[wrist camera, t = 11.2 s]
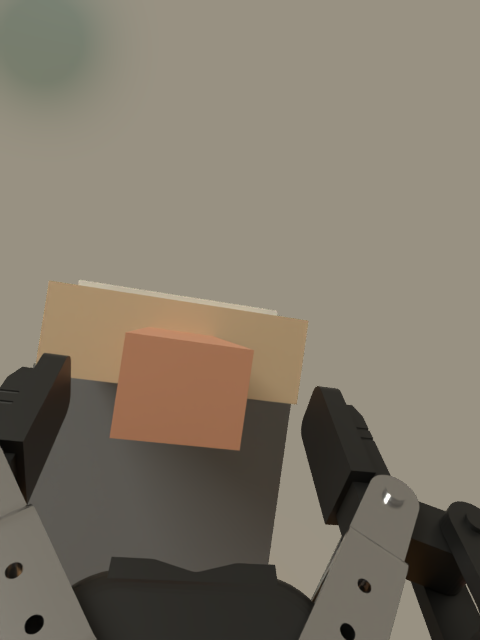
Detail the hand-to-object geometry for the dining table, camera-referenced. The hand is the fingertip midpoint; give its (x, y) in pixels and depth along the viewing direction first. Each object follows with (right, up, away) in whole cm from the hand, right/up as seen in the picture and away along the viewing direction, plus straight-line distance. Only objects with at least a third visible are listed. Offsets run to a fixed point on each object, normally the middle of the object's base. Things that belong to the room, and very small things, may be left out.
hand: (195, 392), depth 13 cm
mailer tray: (-2, -1, +7) cm, 7 cm away
